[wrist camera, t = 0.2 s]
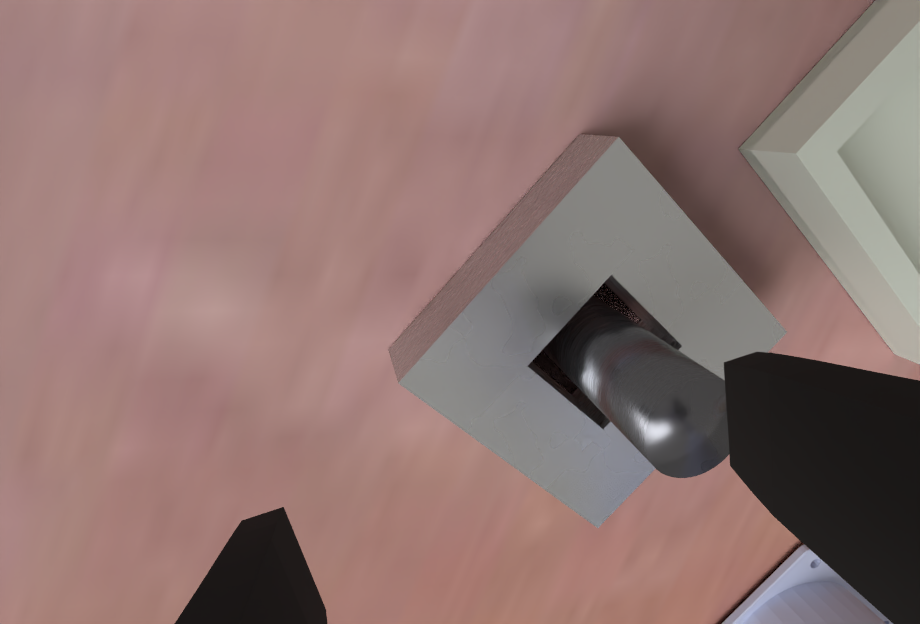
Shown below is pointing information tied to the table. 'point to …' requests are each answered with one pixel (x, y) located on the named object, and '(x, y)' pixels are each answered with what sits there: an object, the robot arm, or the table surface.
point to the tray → (857, 166)
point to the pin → (645, 389)
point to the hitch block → (556, 301)
